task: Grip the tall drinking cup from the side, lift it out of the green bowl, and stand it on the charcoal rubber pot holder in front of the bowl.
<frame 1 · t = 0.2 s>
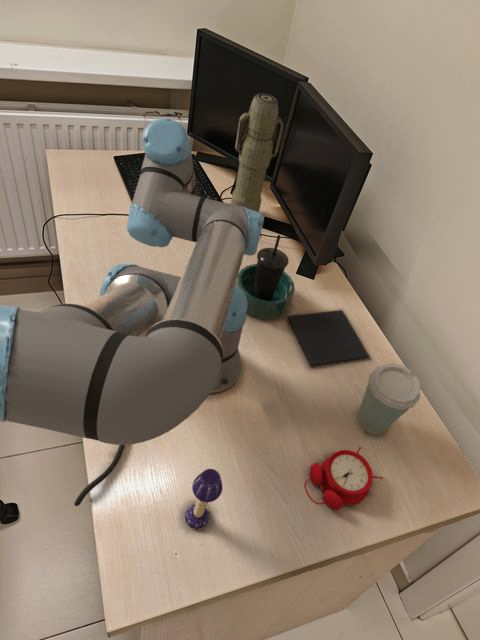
hand: (185, 225, 110), 15 cm above the table, tool tilted 35°, fingers open, 13 cm apart
drinking cup: (261, 299, 120), resting on green bowl
green bowl: (261, 299, 120), on the table
disposable coffee cup: (369, 421, 102), on the table
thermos: (243, 215, 144), on the table
alarm clock: (336, 484, 91), on the table
pot holder: (326, 337, 116), on the table
toy lamp: (198, 518, 81), on the table
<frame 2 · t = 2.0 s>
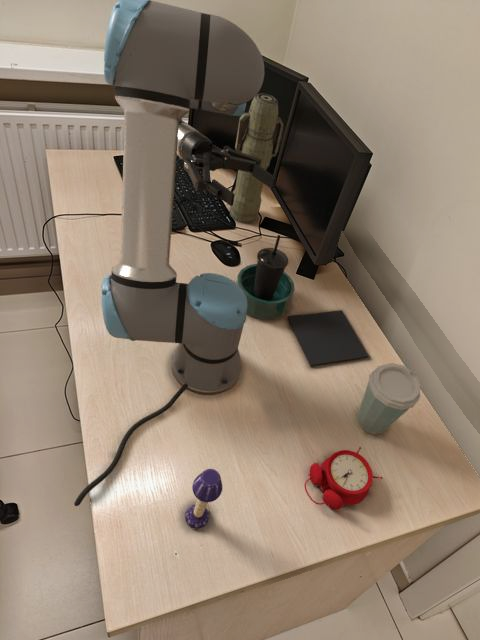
hand: (254, 191, 104), 26 cm above the table, tool horizontal, fingers open, 13 cm apart
nothing on the table moved.
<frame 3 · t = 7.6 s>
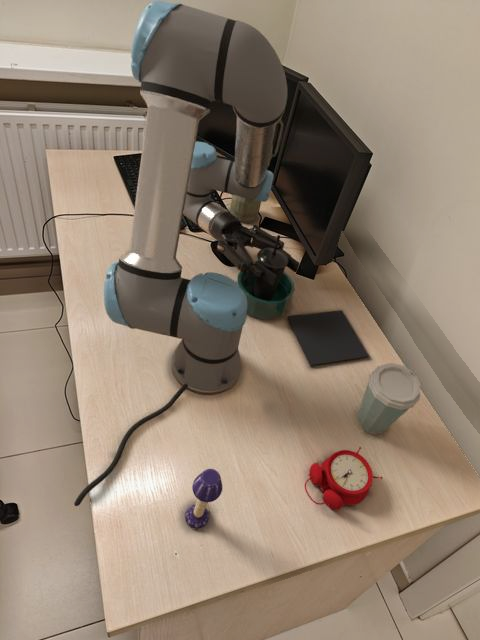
hand: (286, 274, 110), 12 cm above the table, tool horizontal, fingers closed on drinking cup, 8 cm apart
drinking cup: (261, 299, 120), resting on green bowl, touching gripper
everything else where it was.
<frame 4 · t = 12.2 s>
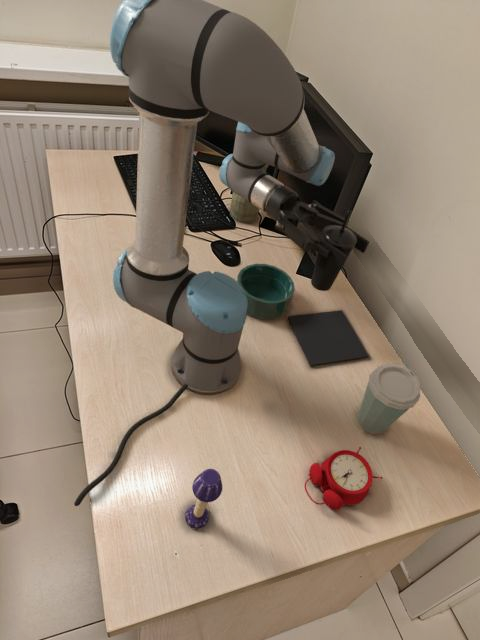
hand: (355, 254, 97), 26 cm above the table, tool horizontal, fingers closed on drinking cup, 8 cm apart
drinking cup: (320, 284, 107), point 14 cm above the table, touching gripper
everything else where it was.
when the fingers open (13 cm above the table, at t = 17.1 s): drinking cup stays where it is, resting on pot holder.
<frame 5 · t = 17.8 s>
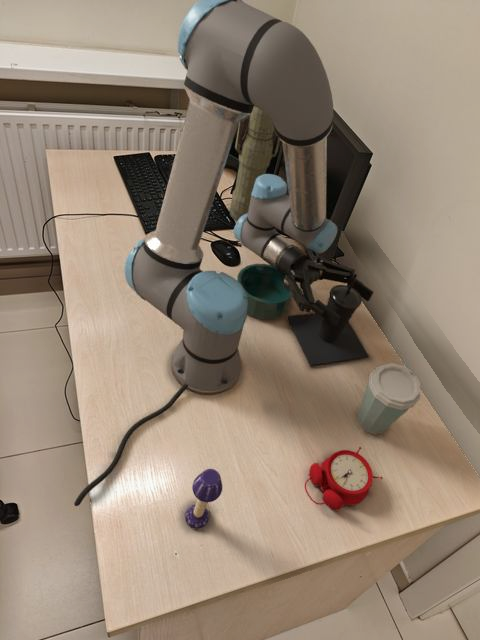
hand: (355, 308, 105), 13 cm above the table, tool horizontal, fingers open, 13 cm apart
drinking cup: (327, 336, 116), point 1 cm above the table, touching pot holder
everything else where it was.
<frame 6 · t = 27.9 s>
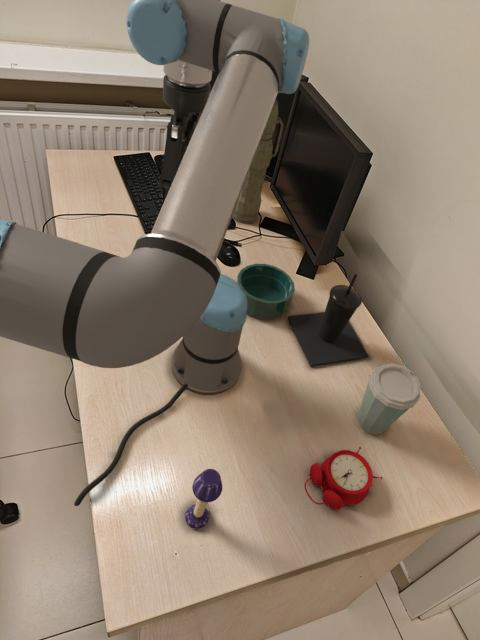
hand: (179, 197, 89), 31 cm above the table, tool pointing down, fingers open, 13 cm apart
nothing on the table moved.
at the end: drinking cup inside the target area on the pot holder (0.1 cm from its centre), point 0.6 cm above the pot holder's base; drinking cup tilted 0°; the gripper is holding nothing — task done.
